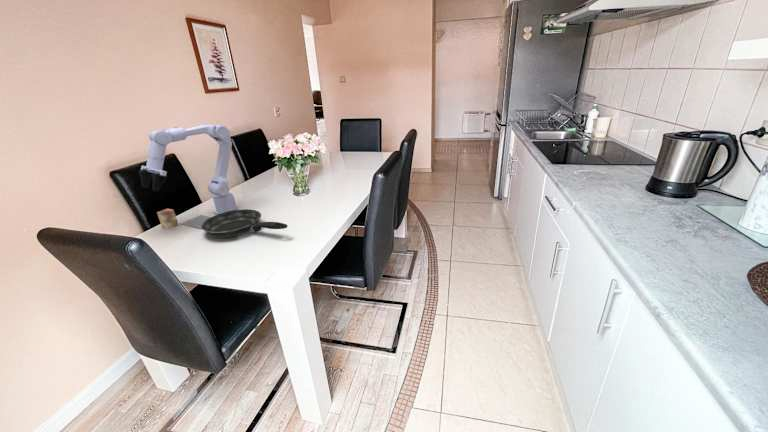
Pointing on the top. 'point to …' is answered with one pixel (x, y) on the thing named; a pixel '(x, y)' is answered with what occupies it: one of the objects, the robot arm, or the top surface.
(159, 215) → the oak block
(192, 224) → the grey rubber mat
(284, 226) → the frying pan
